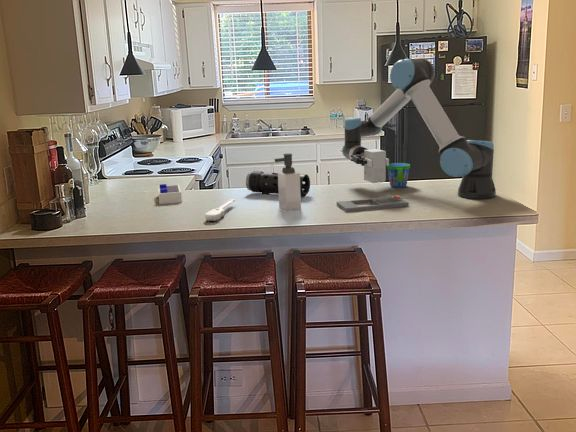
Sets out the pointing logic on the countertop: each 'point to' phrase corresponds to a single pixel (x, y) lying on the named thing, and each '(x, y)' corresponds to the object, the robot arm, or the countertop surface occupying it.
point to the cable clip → (163, 188)
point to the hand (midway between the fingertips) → (379, 162)
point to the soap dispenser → (288, 185)
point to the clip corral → (170, 195)
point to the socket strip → (378, 203)
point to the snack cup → (398, 174)
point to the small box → (375, 166)
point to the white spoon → (217, 212)
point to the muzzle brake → (272, 183)
